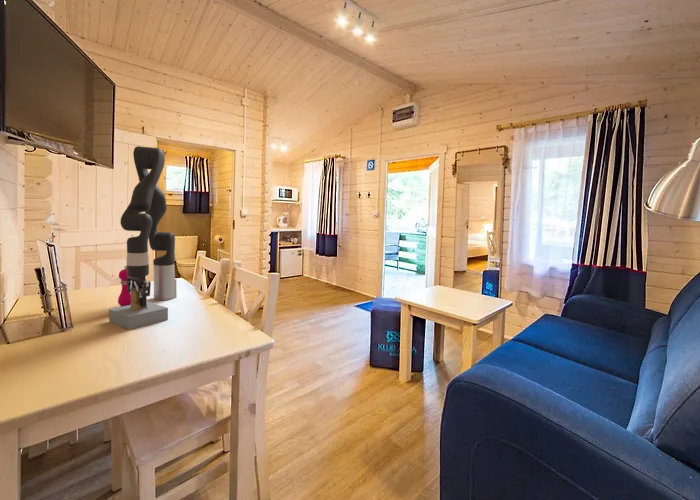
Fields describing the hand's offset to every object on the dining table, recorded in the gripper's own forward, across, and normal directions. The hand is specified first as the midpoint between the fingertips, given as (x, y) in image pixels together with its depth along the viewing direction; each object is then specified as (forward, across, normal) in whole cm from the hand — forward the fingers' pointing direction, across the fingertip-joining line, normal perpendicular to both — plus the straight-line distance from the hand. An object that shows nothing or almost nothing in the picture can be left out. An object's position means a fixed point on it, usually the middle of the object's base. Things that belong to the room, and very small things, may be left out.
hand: (138, 304), depth 138 cm
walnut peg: (+6, 0, 0) cm, 6 cm away
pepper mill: (+7, +17, -4) cm, 19 cm away
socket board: (+7, 0, 0) cm, 7 cm away
